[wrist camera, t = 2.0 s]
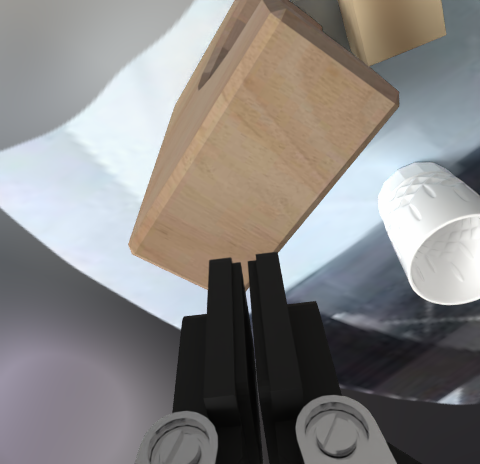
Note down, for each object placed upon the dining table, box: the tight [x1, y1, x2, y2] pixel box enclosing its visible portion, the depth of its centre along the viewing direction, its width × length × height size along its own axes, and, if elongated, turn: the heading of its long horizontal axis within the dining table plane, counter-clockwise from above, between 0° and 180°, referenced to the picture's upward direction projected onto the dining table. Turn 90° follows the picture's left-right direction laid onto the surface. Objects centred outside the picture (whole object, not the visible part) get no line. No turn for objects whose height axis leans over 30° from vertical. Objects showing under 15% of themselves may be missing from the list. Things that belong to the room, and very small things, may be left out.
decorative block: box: [128, 0, 399, 292], centre depth 25 cm, size 11×6×20 cm, turn 146°
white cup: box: [378, 162, 480, 305], centre depth 36 cm, size 8×8×10 cm
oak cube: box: [338, 0, 446, 66], centre depth 30 cm, size 5×5×5 cm
